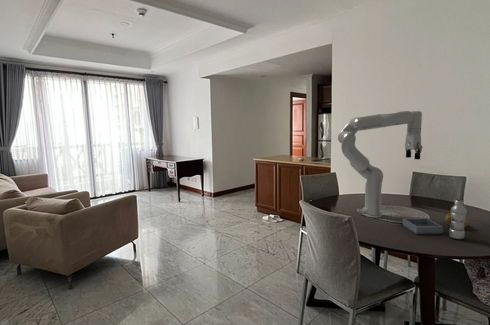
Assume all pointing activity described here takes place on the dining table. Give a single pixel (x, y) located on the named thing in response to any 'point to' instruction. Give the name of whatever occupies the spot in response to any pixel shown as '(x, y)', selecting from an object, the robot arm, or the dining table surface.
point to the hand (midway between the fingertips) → (412, 158)
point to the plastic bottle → (457, 220)
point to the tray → (422, 226)
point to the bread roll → (448, 220)
